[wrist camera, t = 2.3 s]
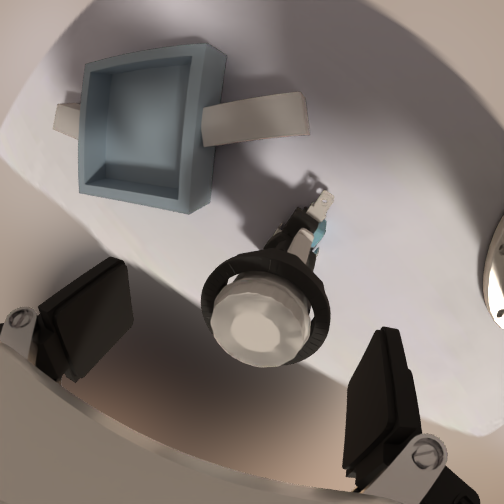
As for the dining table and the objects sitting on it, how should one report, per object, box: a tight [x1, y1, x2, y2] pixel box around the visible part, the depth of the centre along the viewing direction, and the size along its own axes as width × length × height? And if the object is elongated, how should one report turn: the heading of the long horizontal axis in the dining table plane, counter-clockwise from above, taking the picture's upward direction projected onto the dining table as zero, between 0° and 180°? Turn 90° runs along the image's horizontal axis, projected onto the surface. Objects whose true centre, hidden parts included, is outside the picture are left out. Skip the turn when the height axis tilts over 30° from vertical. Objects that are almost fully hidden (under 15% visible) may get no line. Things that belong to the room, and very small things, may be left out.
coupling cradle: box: [53, 43, 310, 215], centre depth 17 cm, size 22×11×3 cm, turn 83°
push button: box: [201, 190, 334, 367], centre depth 14 cm, size 7×5×10 cm
